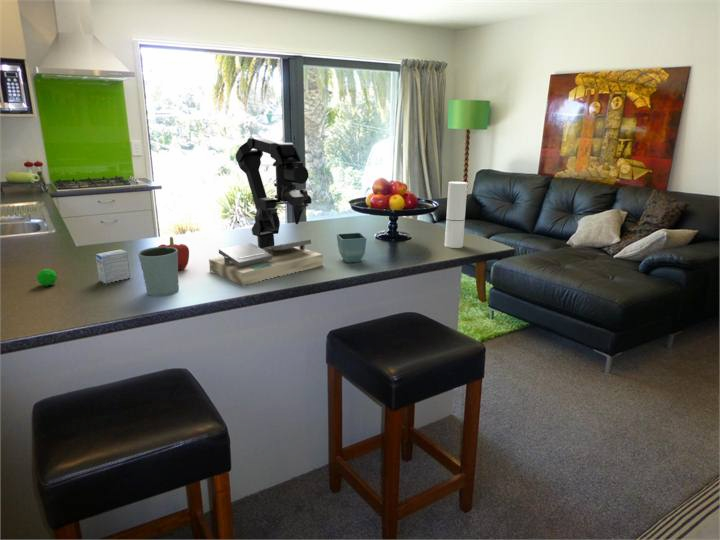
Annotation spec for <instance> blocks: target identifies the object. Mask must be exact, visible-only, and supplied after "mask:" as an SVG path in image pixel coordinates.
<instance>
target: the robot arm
mask: <svg viewBox="0 0 720 540" xmlns="http://www.w3.org/2000/svg"><path fill="white" fill-rule="evenodd" d="M264 153H265V154H268V155H270V158H271V159H273V160H274V162H273V163H272V166H273V167H275V183H273V184H274V185H273V187H276V188H275V189H276V190H275V191H276V194H275V195H274V198H272V197H267V193H266V189H265V186H264V182H263V179H262V176H261V172H260V167H261V165H262V161H261V160H262V157H263V156H264ZM235 160H236V162H237V164H238V166H239V169H241V171H242V172H243V173H244V174H245V175H246V179H247V182H248V185H249V188H250V192H251V196H252V199H253V202H254V206H255V208H256V212H255V215H254V221H255V222H254V224H253V225H252V228H251V233H252V235H253V236H255V237H257V247H259V248H261V249H262V248H266V247H271V246H275V235H278V234H279V231H280V226H281V225H280V224H281V220H280V217H279V216H278V215H279V214H278V208H276V207H277V206H279V205H287V204H289V205H290V206H292V209H293V215H294V216H293V217H294V222H295V223H294V224H295V225H299V222H300V219H301V216H302V214H303V211H304V209H306V208H307V207H308V206H309V205H310V204H312V198H311V196H310V195H309V193H308V190H307V189H306V188H304V189H298V190H297V186H296V184H300V185H302V184H305V183H306V182H308V179H309V175H310V174H309V171H308V169H307V168H306V167H305V166H304V163H303V162H302V161H301V157H300V156H299V153H298V150H297V148H296V147H295V144H294V143H292V142H275V141H272V140H269V139H267V138H266V139H265V138H263V137H261V136H258V137H257V136H255V137H254V136H252V137H251V136H250V137H249V138H248V139H247V141H246V142H244V143H243V144H242V145H240V147H239V148H238V149H237V151H236V153H235Z"/></svg>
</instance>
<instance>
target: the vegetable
mask: <svg viewBox="0 0 720 540" xmlns="http://www.w3.org/2000/svg"><path fill="white" fill-rule="evenodd" d="M157 247H173V248H176V249H177V250H178V271H179V270H184V269H185V268H187V266H188V264H189V260H190V249H189V246H188V245H186V244H182V243H180V244H177V243H175V244H174V237H173V236H170V237H169V244H160V245H158V246H157Z"/></svg>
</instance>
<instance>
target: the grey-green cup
mask: <svg viewBox="0 0 720 540" xmlns="http://www.w3.org/2000/svg"><path fill="white" fill-rule="evenodd" d="M137 255H138V259H139V262H140V266H141V268H140V269H141V270H142V274H143V279H144V285H145V290H146V293H147V295H148V296H151V297H167V296H171V295H175V294H176V293H178V292H179V291H180V290H179V289H180V285H179V283H180V282H179V270H178V250H177V249H176V248H173V247H158V246H155V247H150V248H145V249H142V250H140V251H139V252H138V253H137ZM174 293H175V294H174Z"/></svg>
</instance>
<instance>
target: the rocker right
mask: <svg viewBox="0 0 720 540" xmlns="http://www.w3.org/2000/svg"><path fill="white" fill-rule="evenodd" d="M311 244H312V240H311V239H306V240H297V241H291V242H287V243H282V244H277V245H274V246H271V247H266V248H262V249H264V250H266V252H268V248H272V250H273V251H276V250H283V249H288V248H293V247H300V246H302V245H305V246H306V245H311Z"/></svg>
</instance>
